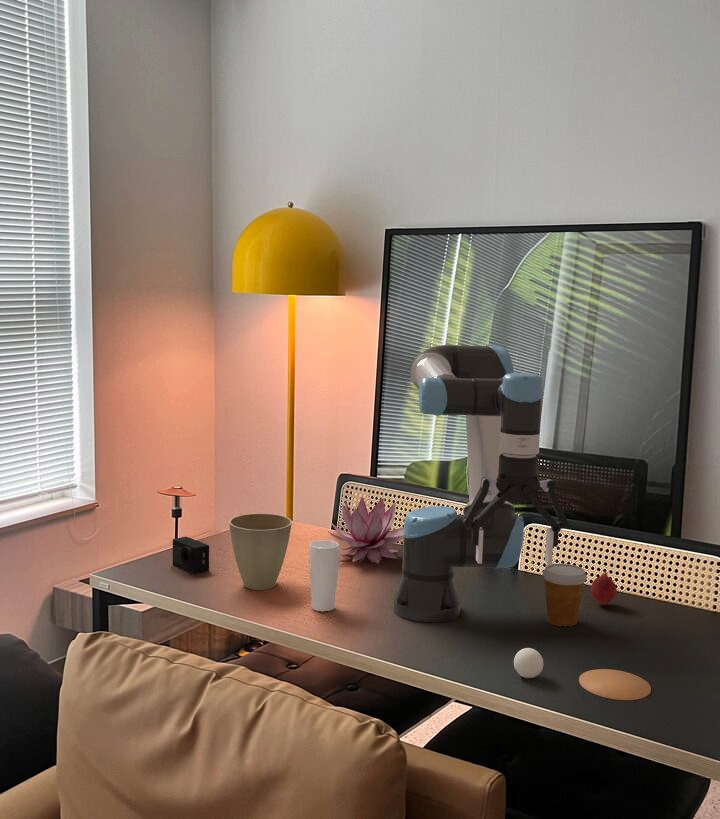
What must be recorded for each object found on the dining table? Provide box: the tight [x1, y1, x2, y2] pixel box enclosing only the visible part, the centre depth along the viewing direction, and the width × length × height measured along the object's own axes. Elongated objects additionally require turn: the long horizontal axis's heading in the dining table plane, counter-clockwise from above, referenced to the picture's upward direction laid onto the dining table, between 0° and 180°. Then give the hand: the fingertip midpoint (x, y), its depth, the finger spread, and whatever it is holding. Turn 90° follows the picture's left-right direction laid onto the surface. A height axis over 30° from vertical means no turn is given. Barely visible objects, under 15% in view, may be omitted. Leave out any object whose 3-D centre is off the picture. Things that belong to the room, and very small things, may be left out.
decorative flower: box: [327, 496, 404, 564], centre depth 247 cm, size 21×21×15 cm
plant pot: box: [228, 512, 293, 591], centre depth 223 cm, size 15×15×16 cm
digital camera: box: [172, 536, 210, 576], centre depth 235 cm, size 10×5×7 cm, turn 44°
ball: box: [513, 647, 544, 679], centre depth 175 cm, size 6×6×6 cm
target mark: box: [578, 668, 652, 701], centre depth 173 cm, size 13×13×1 cm
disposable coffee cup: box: [542, 563, 588, 628], centre depth 204 cm, size 10×10×12 cm
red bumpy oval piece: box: [590, 571, 618, 606], centre depth 216 cm, size 6×6×8 cm
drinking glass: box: [308, 539, 340, 613], centre depth 208 cm, size 7×7×15 cm
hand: (513, 562), depth 180 cm, fingers open, 13 cm apart
